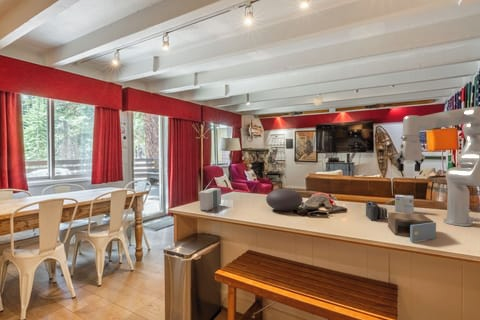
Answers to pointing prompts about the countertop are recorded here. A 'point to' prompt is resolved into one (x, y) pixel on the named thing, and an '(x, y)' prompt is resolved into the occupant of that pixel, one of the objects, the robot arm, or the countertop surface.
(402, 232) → the walnut case
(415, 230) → the case door
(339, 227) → the countertop surface
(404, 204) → the light bulb box
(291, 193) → the smooth stone
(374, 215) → the camera
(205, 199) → the stereo radio cassette player
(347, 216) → the countertop surface
